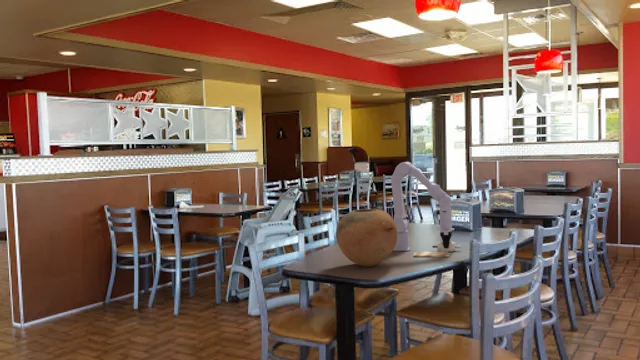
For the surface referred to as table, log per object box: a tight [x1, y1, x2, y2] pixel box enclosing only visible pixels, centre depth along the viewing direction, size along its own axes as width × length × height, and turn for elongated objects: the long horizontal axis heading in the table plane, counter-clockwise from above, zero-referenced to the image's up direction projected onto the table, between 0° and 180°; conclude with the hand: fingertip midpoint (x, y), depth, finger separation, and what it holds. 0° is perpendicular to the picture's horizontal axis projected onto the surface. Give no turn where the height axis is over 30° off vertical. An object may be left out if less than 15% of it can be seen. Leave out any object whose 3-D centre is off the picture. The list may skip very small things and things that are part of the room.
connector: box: [432, 241, 461, 252], centre depth 274 cm, size 13×4×4 cm, turn 78°
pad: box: [413, 251, 450, 258], centre depth 265 cm, size 16×10×1 cm, turn 78°
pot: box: [335, 208, 397, 268], centre depth 245 cm, size 31×27×25 cm
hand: (446, 247), depth 274 cm, fingers closed on connector, 3 cm apart
